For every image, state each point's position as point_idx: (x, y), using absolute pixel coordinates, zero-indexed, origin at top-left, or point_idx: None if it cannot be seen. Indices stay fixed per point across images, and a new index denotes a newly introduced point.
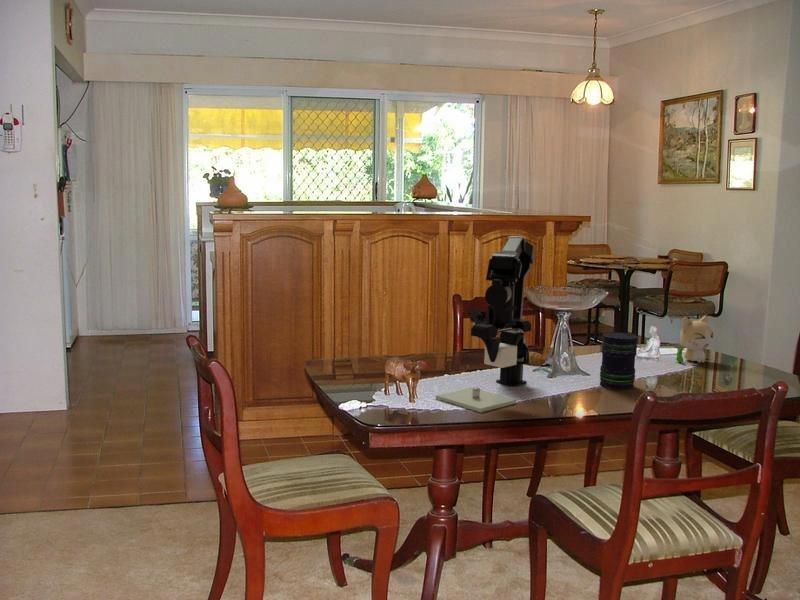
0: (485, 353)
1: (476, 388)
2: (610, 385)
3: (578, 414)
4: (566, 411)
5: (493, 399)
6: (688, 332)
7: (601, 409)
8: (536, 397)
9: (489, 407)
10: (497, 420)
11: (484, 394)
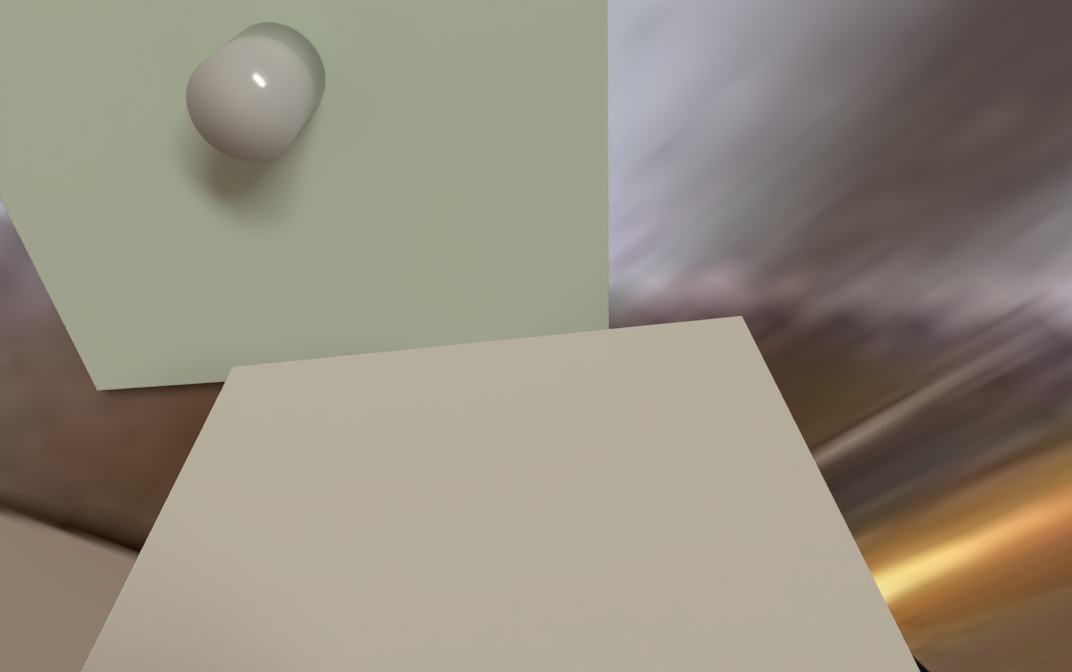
0: (145, 585)
1: (239, 120)
2: None
3: None
4: None
5: (411, 244)
6: None
7: (927, 655)
8: (930, 297)
9: (222, 375)
10: (142, 537)
11: (467, 28)
